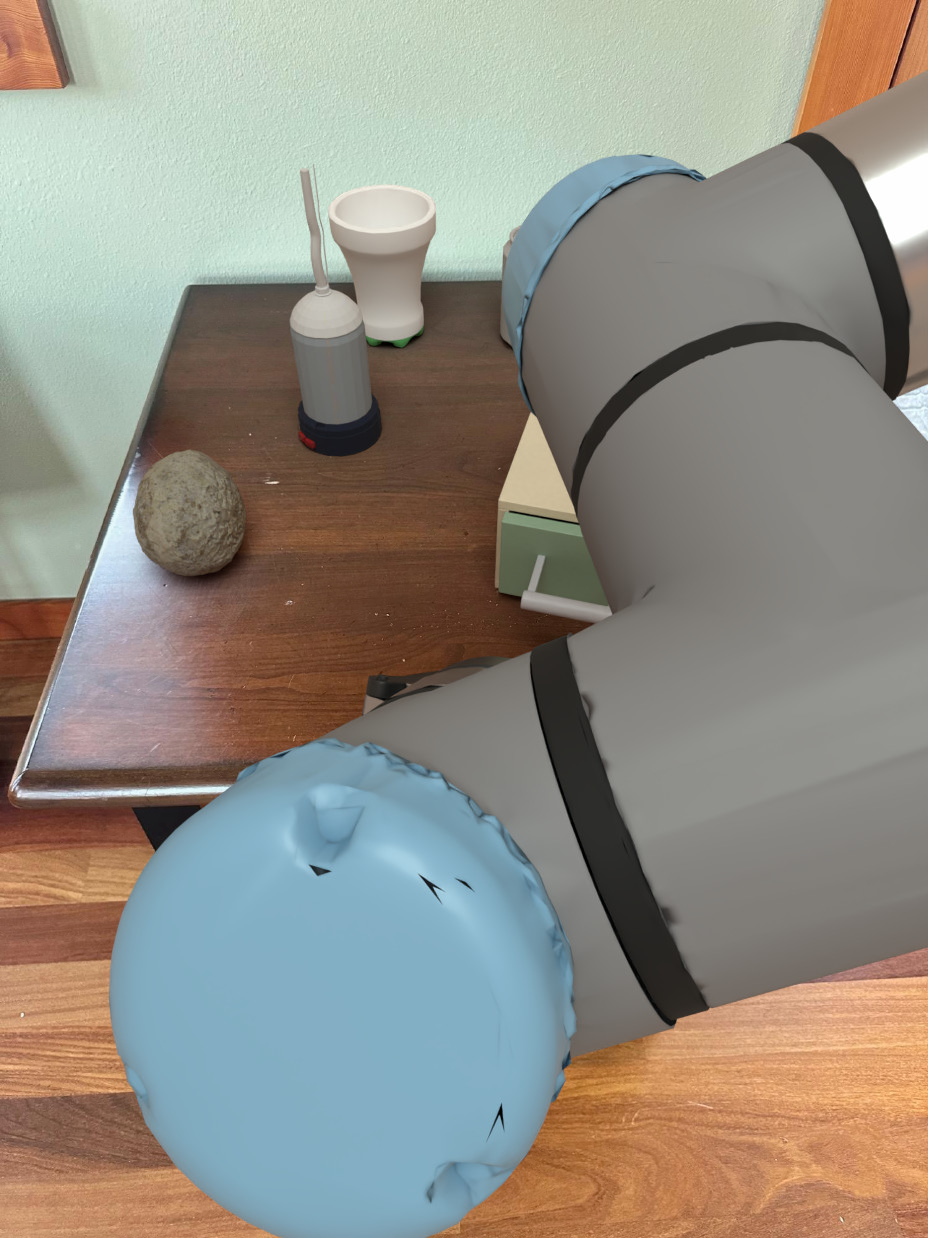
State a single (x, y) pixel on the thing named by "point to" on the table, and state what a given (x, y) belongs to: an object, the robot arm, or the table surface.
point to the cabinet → (533, 484)
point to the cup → (385, 255)
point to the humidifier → (331, 359)
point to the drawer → (550, 568)
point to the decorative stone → (189, 514)
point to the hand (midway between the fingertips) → (544, 684)
